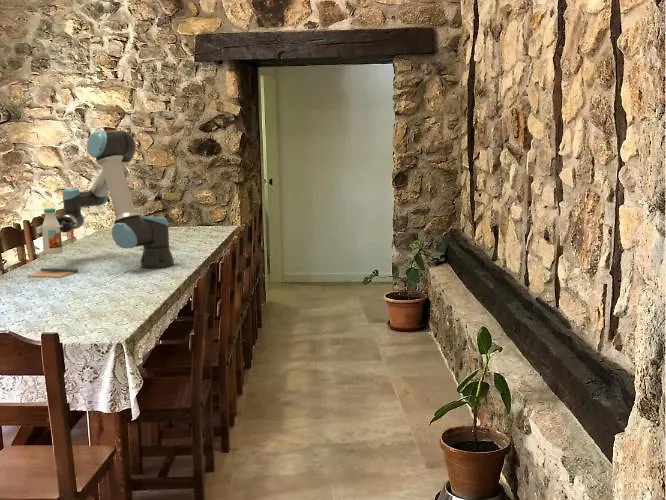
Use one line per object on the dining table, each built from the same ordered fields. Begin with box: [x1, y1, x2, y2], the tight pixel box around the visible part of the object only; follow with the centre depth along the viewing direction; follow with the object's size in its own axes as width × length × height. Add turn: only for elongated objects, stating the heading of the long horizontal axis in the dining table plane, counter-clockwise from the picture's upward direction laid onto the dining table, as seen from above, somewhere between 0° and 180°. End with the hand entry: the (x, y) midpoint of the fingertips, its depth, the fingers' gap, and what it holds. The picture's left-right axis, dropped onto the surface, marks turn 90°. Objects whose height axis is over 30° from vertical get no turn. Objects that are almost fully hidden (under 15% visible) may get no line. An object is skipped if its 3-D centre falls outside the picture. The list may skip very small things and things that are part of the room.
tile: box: [27, 270, 75, 279], centre depth 300 cm, size 16×10×1 cm, turn 78°
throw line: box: [40, 267, 79, 274], centre depth 306 cm, size 18×1×2 cm, turn 78°
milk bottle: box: [41, 207, 63, 255], centre depth 302 cm, size 8×8×20 cm
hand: (46, 230), depth 297 cm, fingers closed on milk bottle, 8 cm apart
